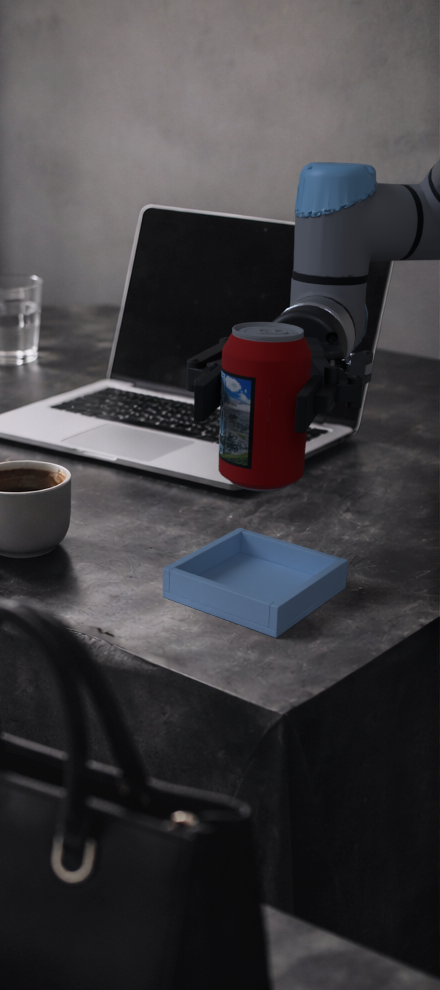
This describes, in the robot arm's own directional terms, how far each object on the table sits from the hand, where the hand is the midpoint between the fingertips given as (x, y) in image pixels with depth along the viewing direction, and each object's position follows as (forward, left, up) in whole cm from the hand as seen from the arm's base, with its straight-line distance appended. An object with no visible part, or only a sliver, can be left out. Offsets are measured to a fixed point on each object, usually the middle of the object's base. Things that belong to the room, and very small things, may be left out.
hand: (249, 408), depth 70 cm
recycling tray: (+2, -5, -17) cm, 18 cm away
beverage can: (+2, -5, -7) cm, 9 cm away
